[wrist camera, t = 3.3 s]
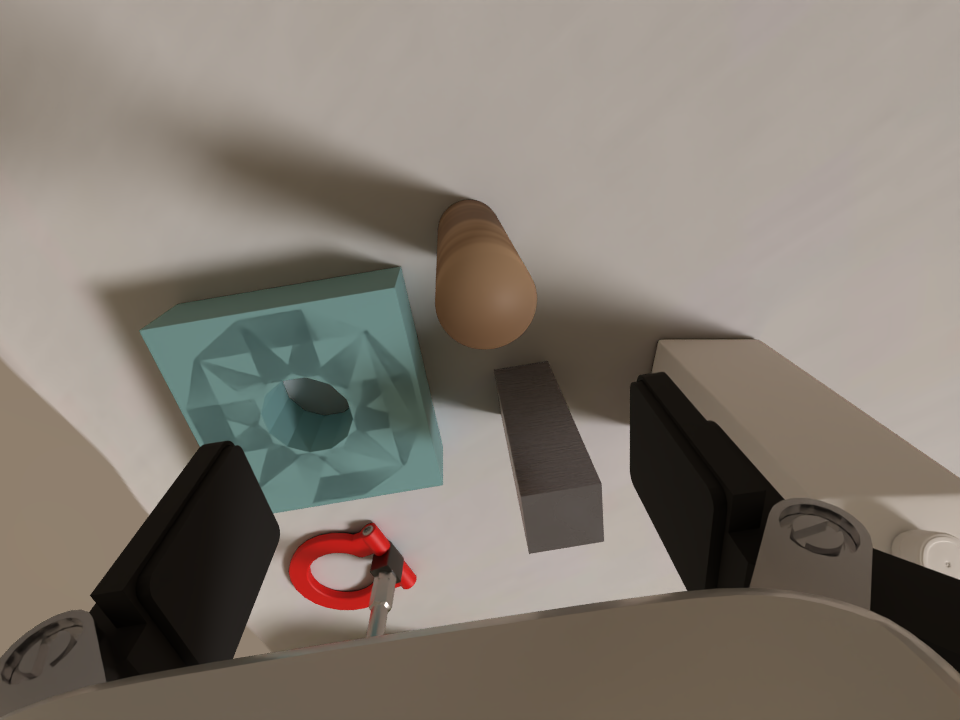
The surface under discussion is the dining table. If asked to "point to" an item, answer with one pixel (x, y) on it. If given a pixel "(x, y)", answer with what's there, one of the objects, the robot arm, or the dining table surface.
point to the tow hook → (384, 568)
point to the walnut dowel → (480, 279)
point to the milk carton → (821, 446)
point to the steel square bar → (548, 461)
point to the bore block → (316, 355)
